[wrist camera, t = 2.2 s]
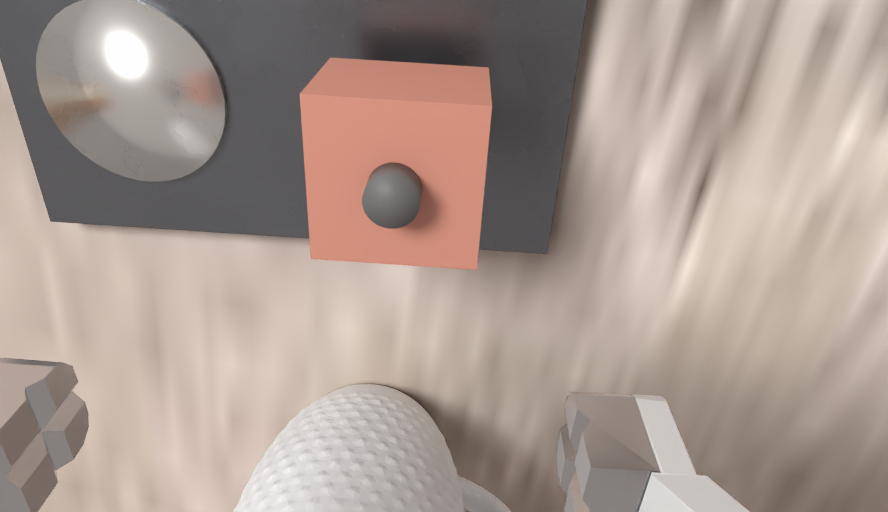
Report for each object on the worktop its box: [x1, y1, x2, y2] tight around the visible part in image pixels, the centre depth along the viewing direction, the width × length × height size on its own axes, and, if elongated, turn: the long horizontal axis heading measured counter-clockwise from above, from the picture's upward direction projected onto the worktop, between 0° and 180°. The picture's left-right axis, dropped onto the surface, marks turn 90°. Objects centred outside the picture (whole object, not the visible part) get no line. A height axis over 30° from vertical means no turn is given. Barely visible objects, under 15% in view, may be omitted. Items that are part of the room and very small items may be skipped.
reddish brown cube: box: [300, 58, 492, 270], centre depth 19 cm, size 5×5×5 cm
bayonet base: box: [0, 0, 587, 254], centre depth 22 cm, size 22×12×7 cm, turn 87°
